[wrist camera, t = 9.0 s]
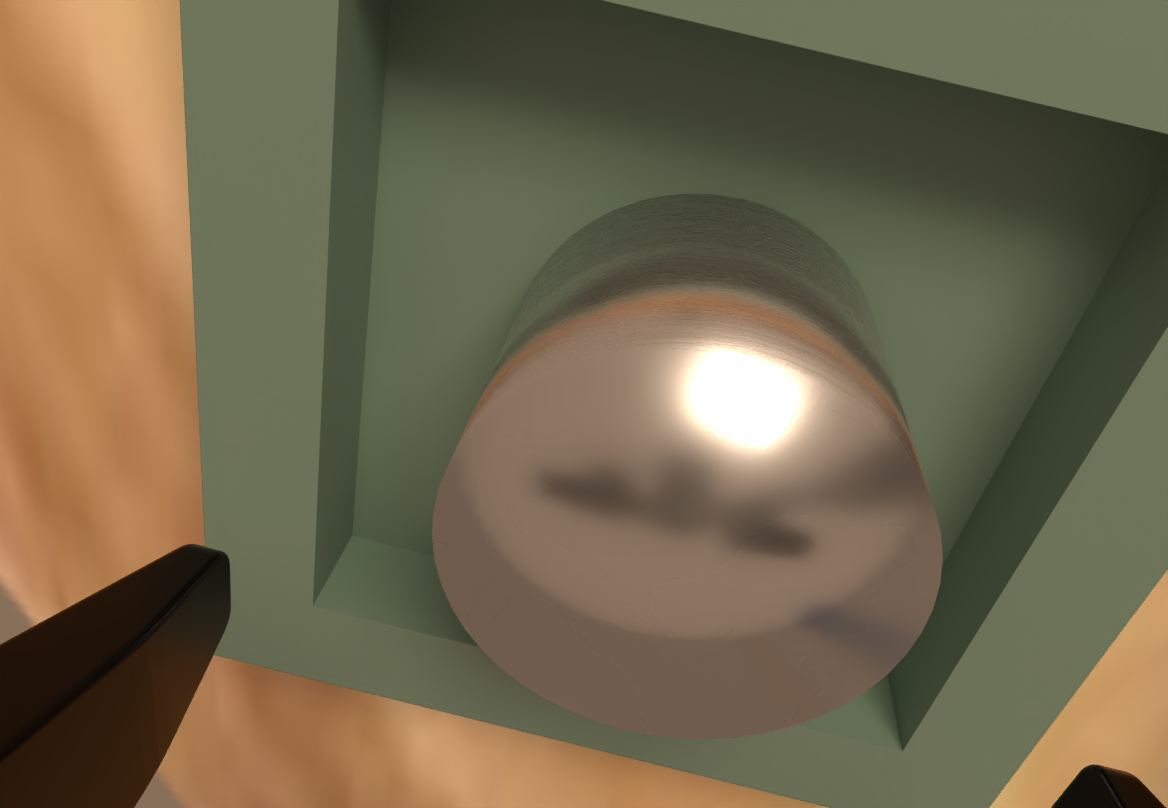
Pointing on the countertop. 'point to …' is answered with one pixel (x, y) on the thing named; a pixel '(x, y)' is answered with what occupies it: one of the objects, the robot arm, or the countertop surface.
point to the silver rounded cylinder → (691, 480)
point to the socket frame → (671, 167)
